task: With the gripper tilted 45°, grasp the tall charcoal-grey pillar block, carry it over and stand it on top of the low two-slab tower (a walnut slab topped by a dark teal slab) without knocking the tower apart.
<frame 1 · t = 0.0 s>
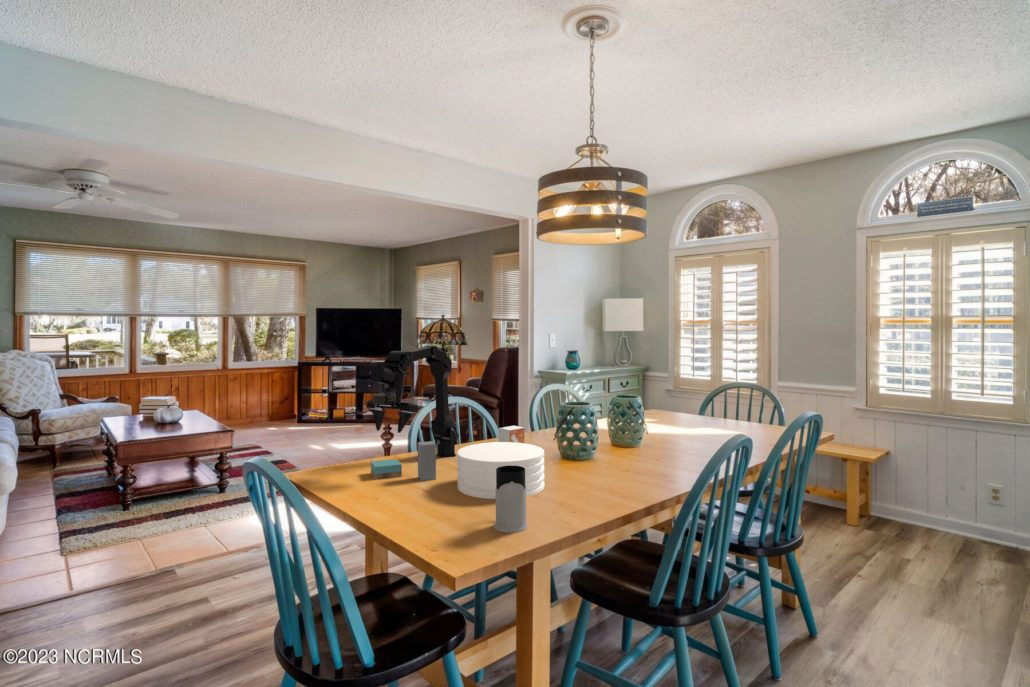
hand: (388, 431, 196), 15 cm above the table, tool pointing down, fingers open, 9 cm apart
plate stack: (501, 486, 184), on the table
small box: (511, 462, 216), on the table
grey pillar block: (426, 478, 193), on the table
teal slab: (386, 469, 198), point 2 cm above the table, touching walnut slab
glass holder: (510, 523, 150), on the table
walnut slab: (386, 476, 198), on the table, touching teal slab
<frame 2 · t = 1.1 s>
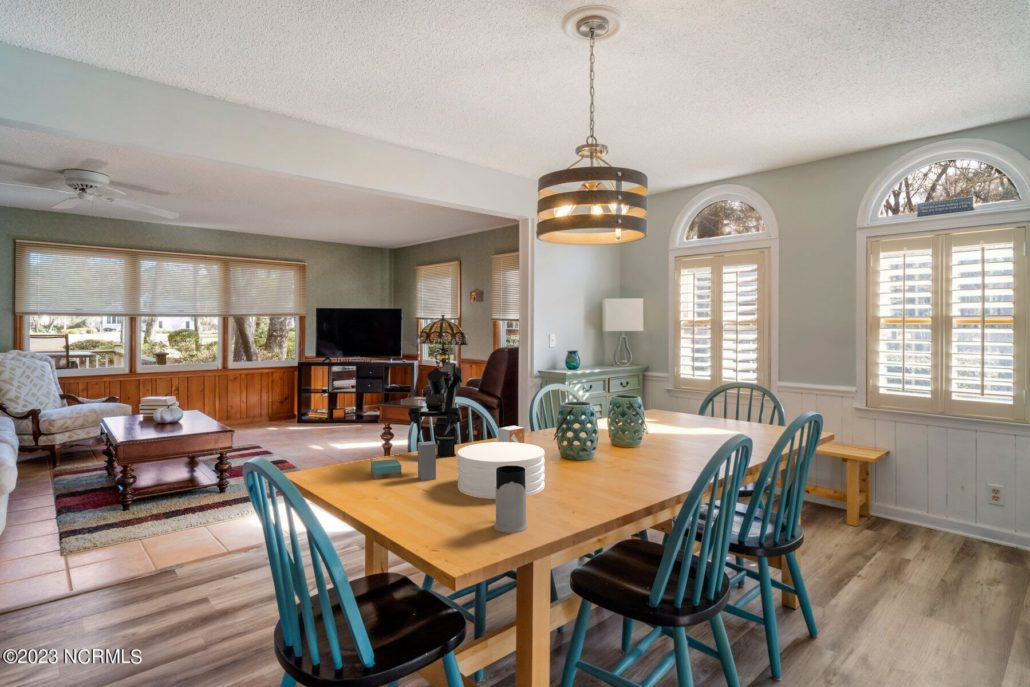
hand: (431, 434, 201), 13 cm above the table, tool tilted 45°, fingers open, 9 cm apart
nothing on the table moved.
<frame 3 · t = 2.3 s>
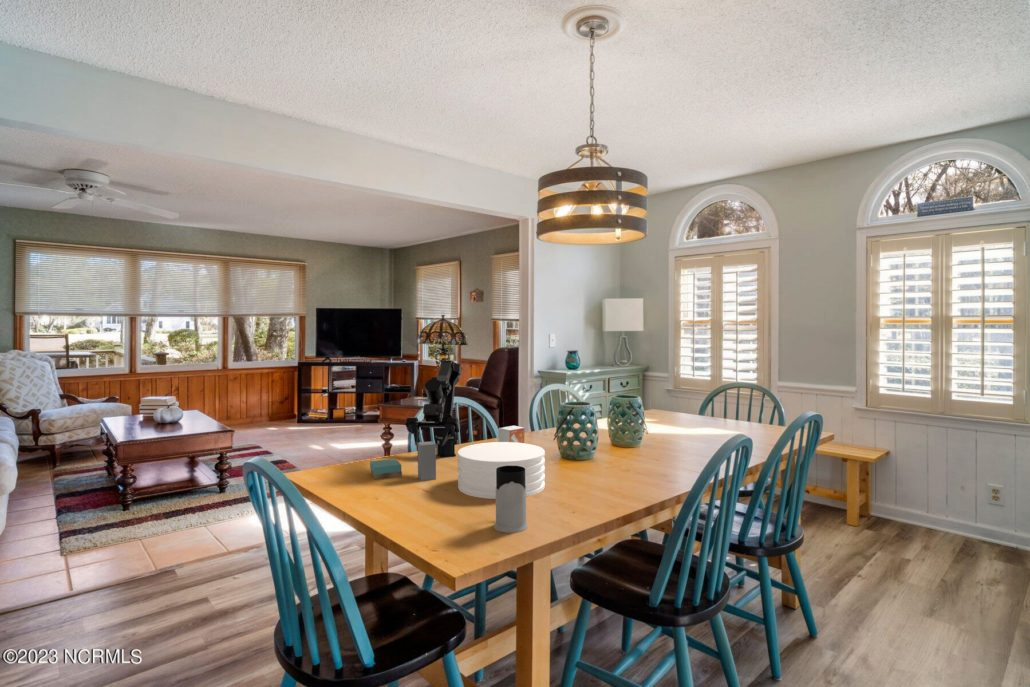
hand: (429, 445, 197), 11 cm above the table, tool tilted 45°, fingers open, 9 cm apart
nothing on the table moved.
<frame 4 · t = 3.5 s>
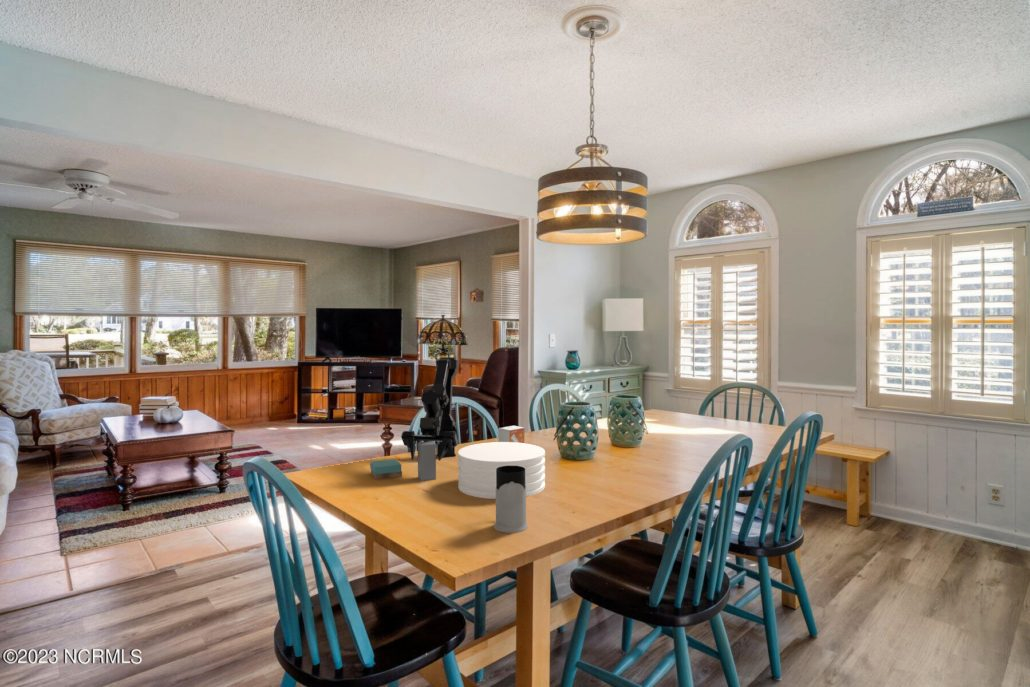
hand: (425, 459, 192), 7 cm above the table, tool tilted 45°, fingers open, 9 cm apart
nothing on the table moved.
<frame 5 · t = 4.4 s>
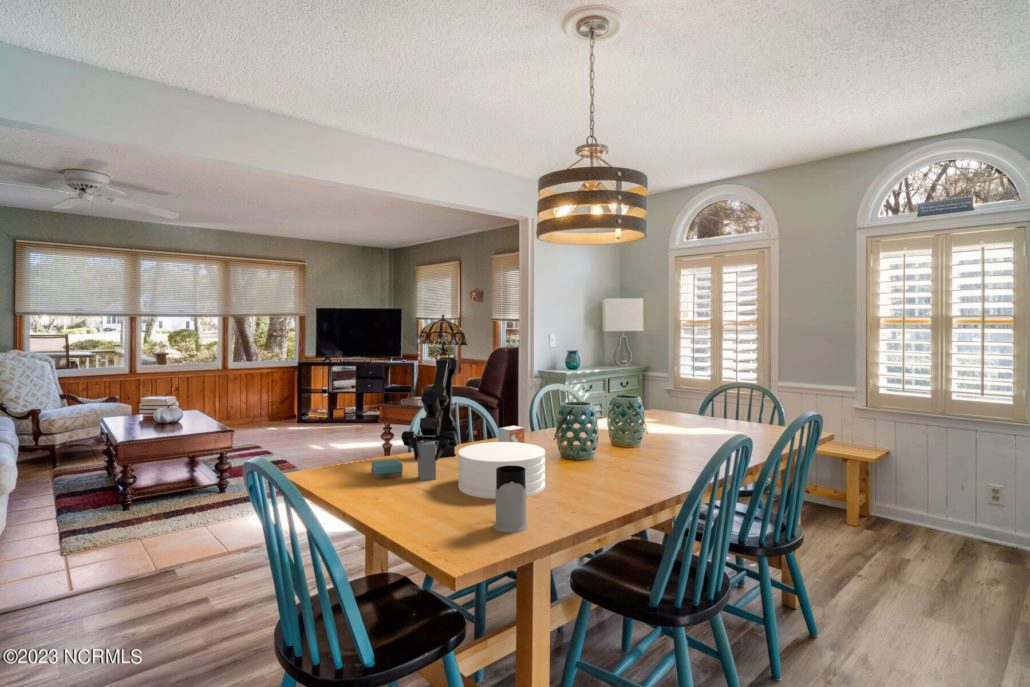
hand: (425, 460, 192), 7 cm above the table, tool tilted 45°, fingers closed on grey pillar block, 7 cm apart
grey pillar block: (426, 478, 193), on the table, touching gripper
everything else where it was.
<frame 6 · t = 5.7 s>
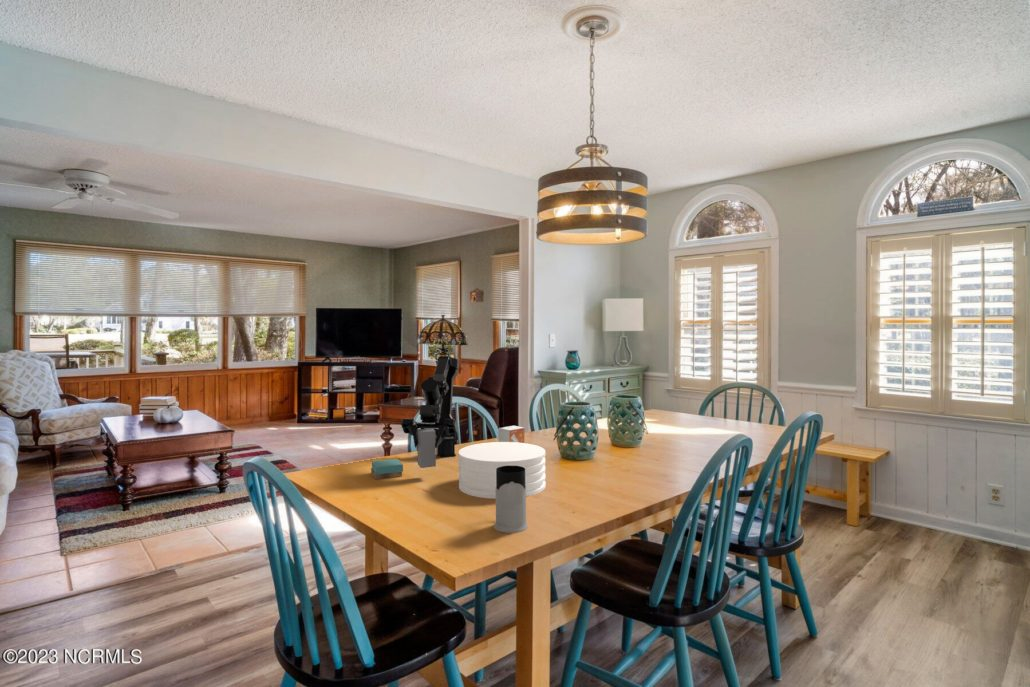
hand: (425, 447, 192), 11 cm above the table, tool tilted 45°, fingers closed on grey pillar block, 7 cm apart
grey pillar block: (426, 465, 193), point 4 cm above the table, touching gripper
teal slab: (387, 469, 198), point 2 cm above the table
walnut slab: (386, 476, 198), on the table
everything else where it was.
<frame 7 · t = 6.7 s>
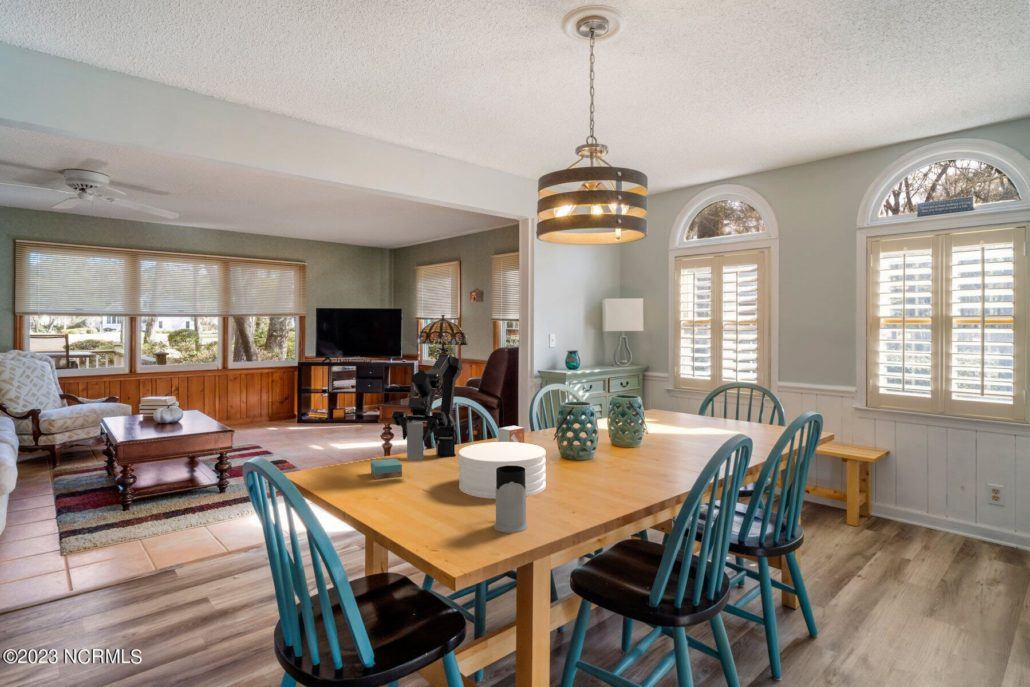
hand: (413, 439, 192), 13 cm above the table, tool tilted 45°, fingers closed on grey pillar block, 7 cm apart
grey pillar block: (415, 457, 194), point 7 cm above the table, touching gripper
teal slab: (386, 469, 198), point 2 cm above the table, touching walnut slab
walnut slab: (386, 476, 198), on the table, touching teal slab
everything else where it was.
when the fingers open (12 cm above the table, at t = 9.2 s): grey pillar block drops 2 cm, resting on teal slab.
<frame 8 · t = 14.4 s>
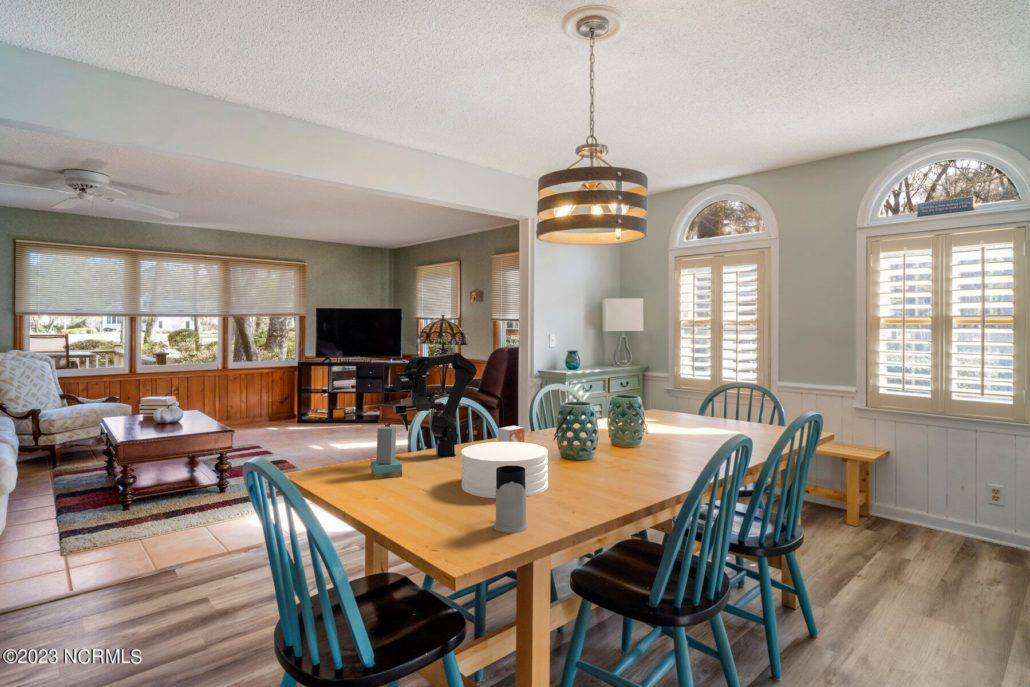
hand: (419, 430, 216), 12 cm above the table, tool pointing down, fingers open, 9 cm apart
grey pillar block: (385, 462, 198), point 4 cm above the table, touching teal slab
teal slab: (386, 469, 198), point 2 cm above the table, touching grey pillar block, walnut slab
at the end: grey pillar block 0.2 cm off-centre on the teal slab, point 2.6 cm above the teal slab's base; grey pillar block tilted 3°; teal slab 0.2 cm off-centre on the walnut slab, point 2.4 cm above the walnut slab's base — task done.
